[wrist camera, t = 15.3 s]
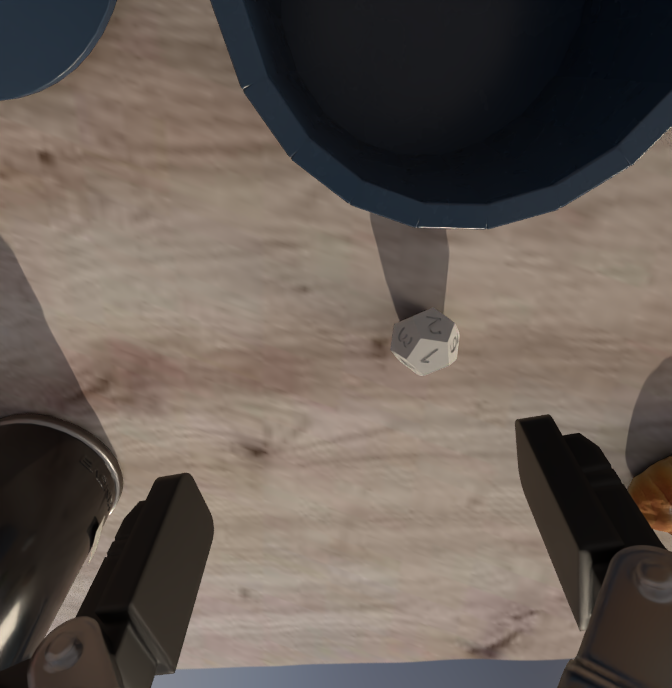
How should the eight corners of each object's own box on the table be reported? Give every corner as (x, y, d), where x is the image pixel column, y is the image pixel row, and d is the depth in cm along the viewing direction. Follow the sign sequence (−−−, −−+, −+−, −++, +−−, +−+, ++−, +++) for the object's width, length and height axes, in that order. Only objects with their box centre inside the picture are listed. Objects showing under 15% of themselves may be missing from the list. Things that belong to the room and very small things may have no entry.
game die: (468, 328, 28) (481, 355, 25) (416, 368, 29) (423, 398, 26) (426, 285, 26) (435, 309, 24) (374, 329, 28) (377, 357, 25)
